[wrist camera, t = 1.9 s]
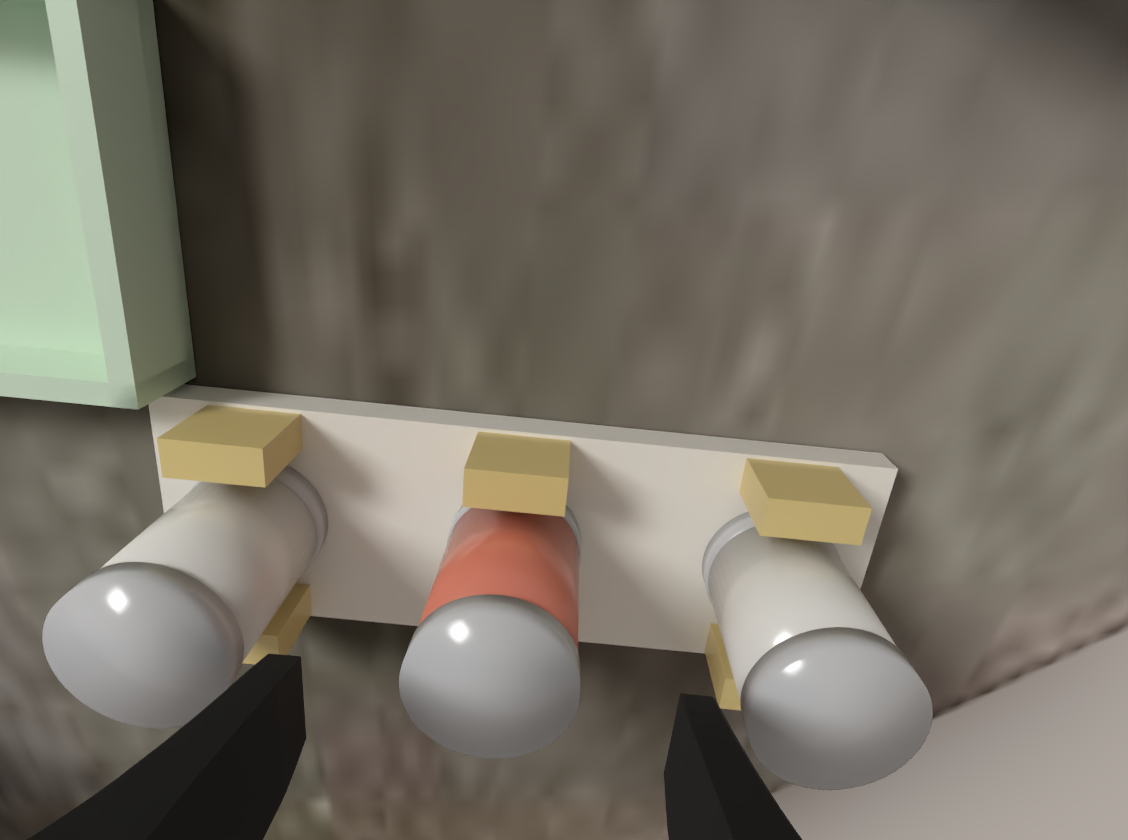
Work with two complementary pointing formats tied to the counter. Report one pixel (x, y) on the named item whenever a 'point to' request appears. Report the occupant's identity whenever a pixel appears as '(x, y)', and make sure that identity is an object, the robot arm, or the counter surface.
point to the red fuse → (498, 636)
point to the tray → (87, 208)
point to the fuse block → (517, 504)
